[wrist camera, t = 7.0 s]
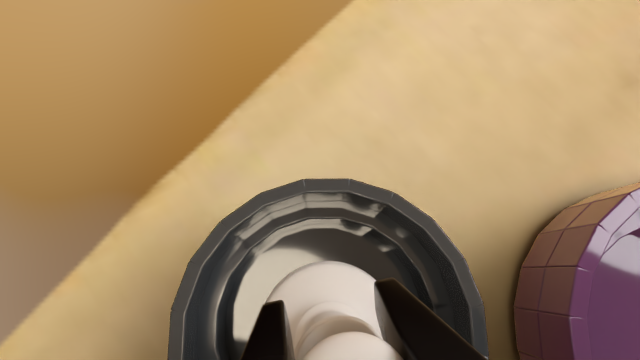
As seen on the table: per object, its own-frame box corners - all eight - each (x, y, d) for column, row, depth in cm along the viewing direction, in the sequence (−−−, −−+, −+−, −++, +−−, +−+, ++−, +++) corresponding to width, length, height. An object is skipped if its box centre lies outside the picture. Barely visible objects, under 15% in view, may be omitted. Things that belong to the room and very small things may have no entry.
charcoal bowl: (473, 237, 17) (514, 228, 14) (416, 500, 15) (448, 568, 11) (247, 167, 17) (233, 142, 14) (158, 414, 15) (115, 455, 12)
